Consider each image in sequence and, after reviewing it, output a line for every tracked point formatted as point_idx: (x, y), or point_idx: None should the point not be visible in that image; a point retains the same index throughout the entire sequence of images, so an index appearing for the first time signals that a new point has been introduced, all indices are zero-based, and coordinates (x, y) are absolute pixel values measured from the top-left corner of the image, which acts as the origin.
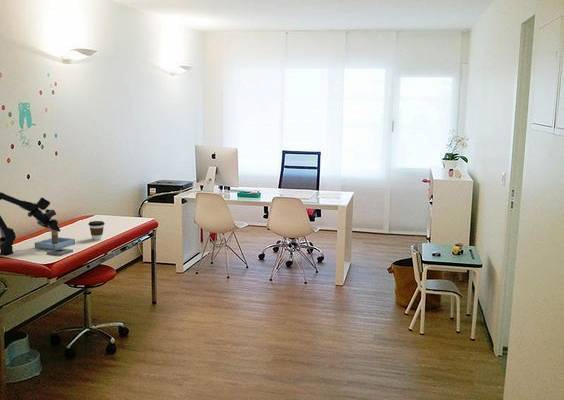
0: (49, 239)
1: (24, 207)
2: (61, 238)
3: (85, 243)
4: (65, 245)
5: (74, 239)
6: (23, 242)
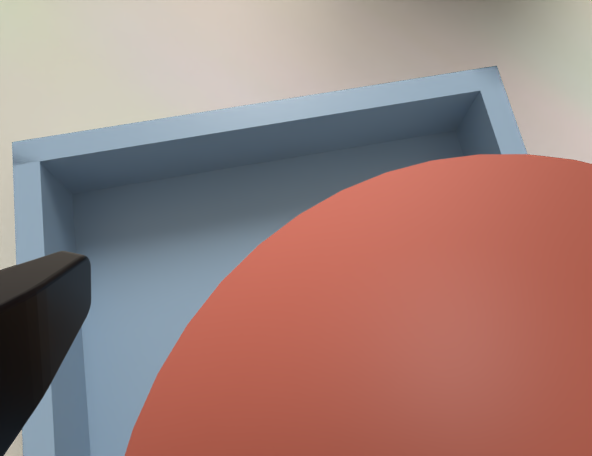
0: None
1: None
2: (188, 143)
3: (555, 10)
4: None
5: (494, 77)
6: None
